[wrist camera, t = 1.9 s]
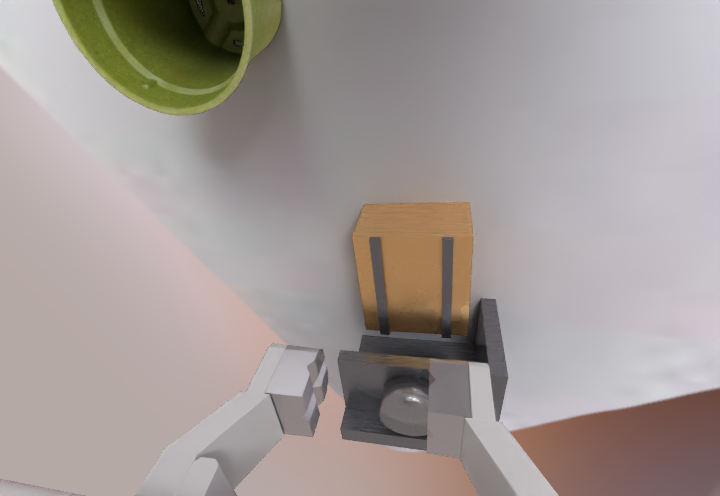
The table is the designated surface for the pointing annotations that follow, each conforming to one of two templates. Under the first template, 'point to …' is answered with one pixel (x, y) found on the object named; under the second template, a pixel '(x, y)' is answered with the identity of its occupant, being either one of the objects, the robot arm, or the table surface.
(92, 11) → the plant pot
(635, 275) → the table surface
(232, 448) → the robot arm
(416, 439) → the bracket
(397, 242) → the block
